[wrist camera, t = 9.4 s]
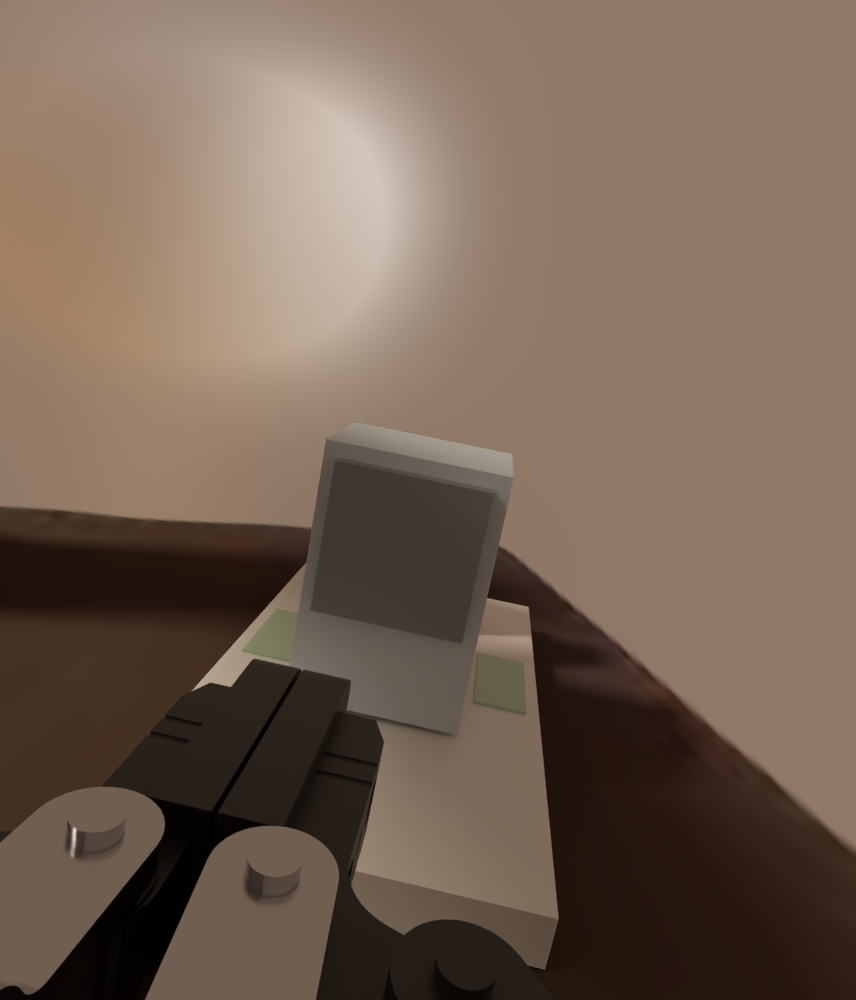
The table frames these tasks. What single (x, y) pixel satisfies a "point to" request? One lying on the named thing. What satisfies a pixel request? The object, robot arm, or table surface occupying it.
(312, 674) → the robot arm
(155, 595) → the table surface
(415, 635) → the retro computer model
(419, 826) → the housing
